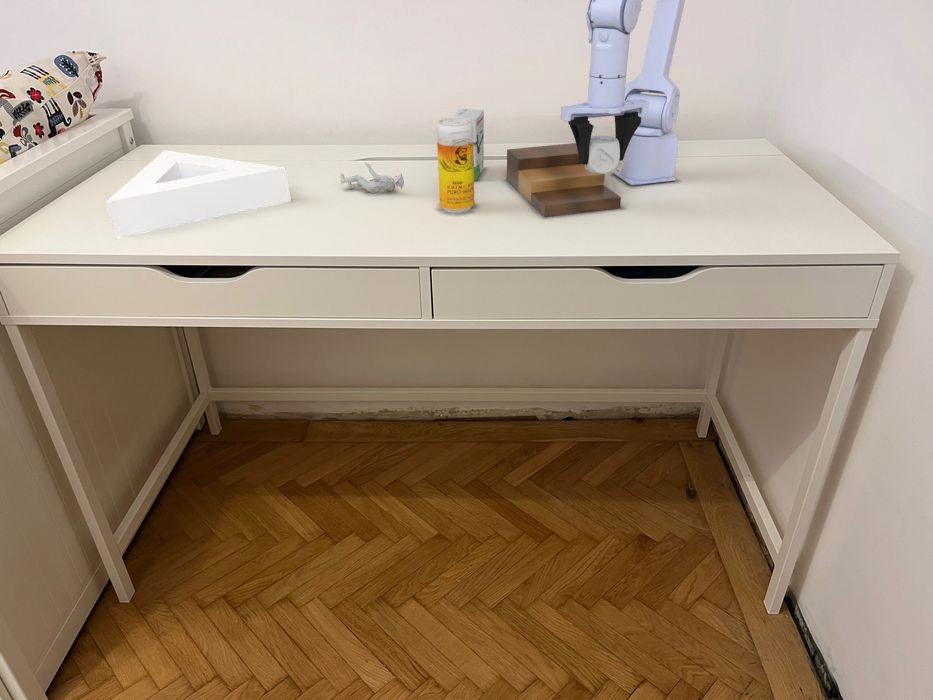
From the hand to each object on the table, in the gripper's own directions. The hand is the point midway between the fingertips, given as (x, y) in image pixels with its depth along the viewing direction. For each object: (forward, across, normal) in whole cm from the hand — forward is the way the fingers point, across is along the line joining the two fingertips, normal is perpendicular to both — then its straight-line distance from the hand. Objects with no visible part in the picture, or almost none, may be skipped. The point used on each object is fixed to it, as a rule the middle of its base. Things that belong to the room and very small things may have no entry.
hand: (600, 161), depth 116 cm
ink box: (+8, -16, +26) cm, 32 cm away
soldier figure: (+8, -36, +21) cm, 43 cm away
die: (+2, 0, 0) cm, 2 cm away
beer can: (+8, -23, +8) cm, 26 cm away
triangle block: (+9, -69, +29) cm, 76 cm away
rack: (+8, -3, +9) cm, 13 cm away
